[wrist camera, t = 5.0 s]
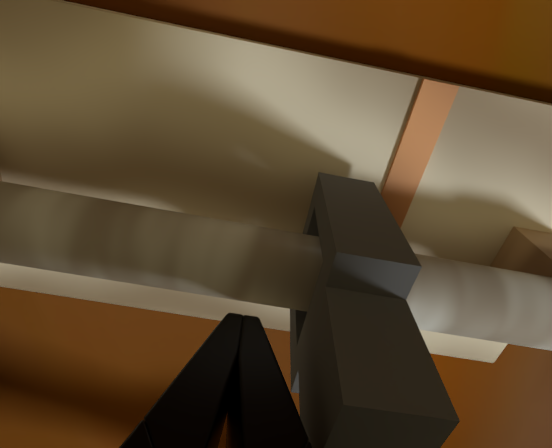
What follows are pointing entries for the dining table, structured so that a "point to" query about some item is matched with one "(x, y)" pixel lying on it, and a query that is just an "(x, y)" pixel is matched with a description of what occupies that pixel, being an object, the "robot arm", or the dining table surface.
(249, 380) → the robot arm
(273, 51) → the pipe stand
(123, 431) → the dining table surface
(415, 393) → the dark angular block
